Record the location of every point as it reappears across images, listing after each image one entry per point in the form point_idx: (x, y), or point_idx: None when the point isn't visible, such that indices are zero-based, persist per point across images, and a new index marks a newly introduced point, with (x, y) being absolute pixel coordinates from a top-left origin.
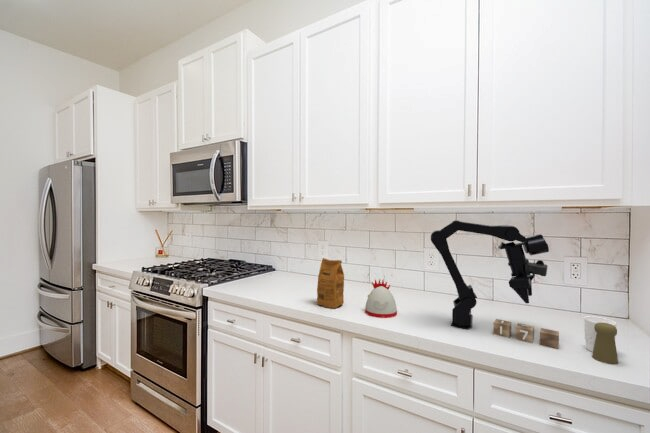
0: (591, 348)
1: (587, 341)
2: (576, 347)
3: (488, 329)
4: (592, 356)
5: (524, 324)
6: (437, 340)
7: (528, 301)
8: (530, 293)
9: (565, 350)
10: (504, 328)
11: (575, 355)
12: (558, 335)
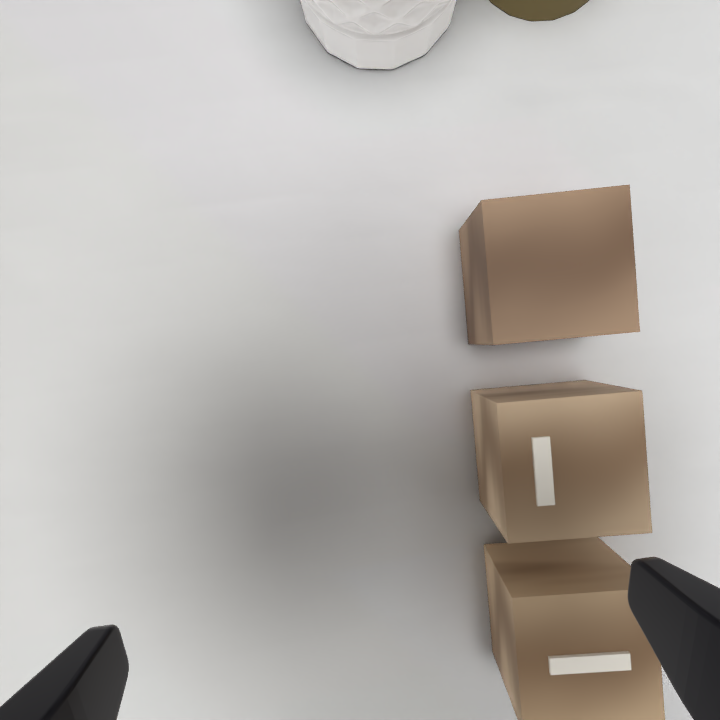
0: (451, 14)
1: (433, 13)
2: (432, 123)
3: None
4: (563, 12)
5: (503, 485)
6: None
7: (698, 580)
8: (95, 679)
9: (560, 174)
10: None
11: (613, 109)
12: (579, 192)
